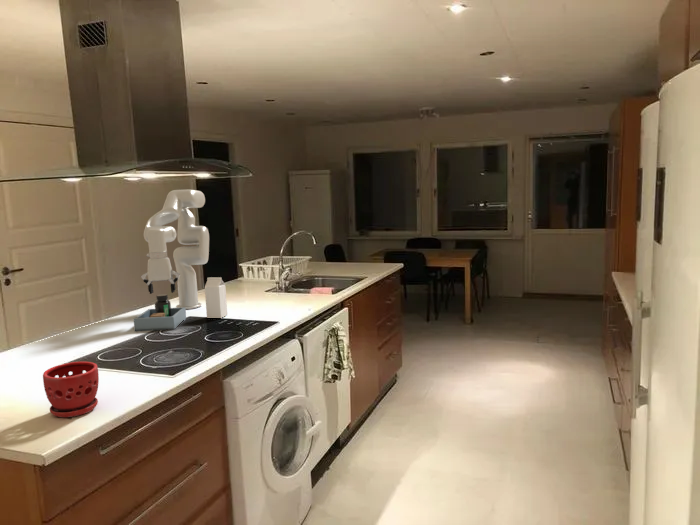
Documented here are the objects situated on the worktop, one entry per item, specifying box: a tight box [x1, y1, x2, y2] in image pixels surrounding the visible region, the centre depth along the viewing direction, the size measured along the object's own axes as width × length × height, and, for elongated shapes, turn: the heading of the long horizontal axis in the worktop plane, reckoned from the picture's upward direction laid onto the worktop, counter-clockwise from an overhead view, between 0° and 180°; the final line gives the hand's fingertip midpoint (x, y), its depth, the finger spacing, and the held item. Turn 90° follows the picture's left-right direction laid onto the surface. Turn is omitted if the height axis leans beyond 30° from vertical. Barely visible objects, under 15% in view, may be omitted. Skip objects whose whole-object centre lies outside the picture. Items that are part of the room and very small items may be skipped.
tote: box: [133, 307, 187, 332], centre depth 242 cm, size 20×17×6 cm
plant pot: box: [42, 361, 100, 418], centre depth 144 cm, size 13×13×12 cm
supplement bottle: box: [154, 293, 172, 317], centre depth 246 cm, size 7×7×12 cm
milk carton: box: [204, 276, 228, 319], centre depth 252 cm, size 7×7×19 cm
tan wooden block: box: [150, 313, 165, 318], centre depth 238 cm, size 5×5×5 cm
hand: (162, 292), depth 246 cm, fingers open, 9 cm apart
